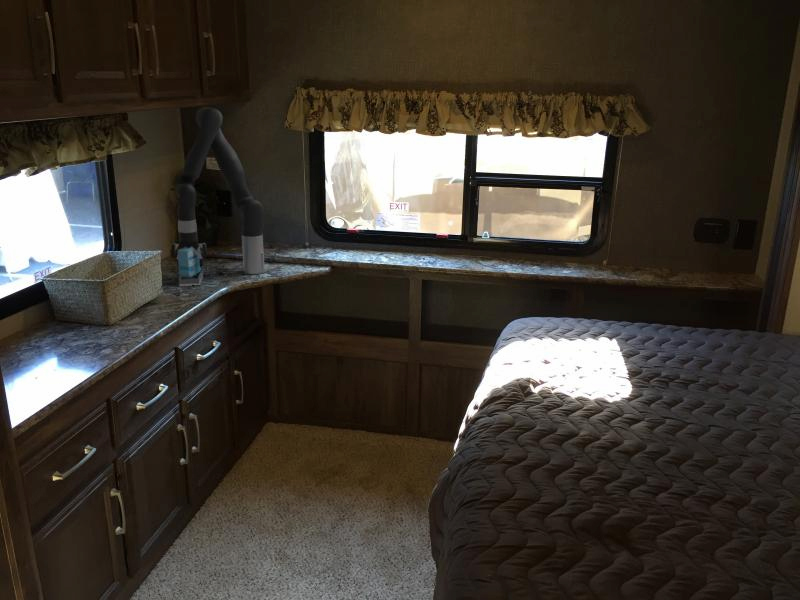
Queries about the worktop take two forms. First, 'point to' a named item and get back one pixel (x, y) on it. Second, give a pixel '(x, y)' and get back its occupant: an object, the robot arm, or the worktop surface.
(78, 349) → the worktop surface
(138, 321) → the worktop surface
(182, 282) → the rail cradle
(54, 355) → the worktop surface
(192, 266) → the blue box
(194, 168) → the robot arm
